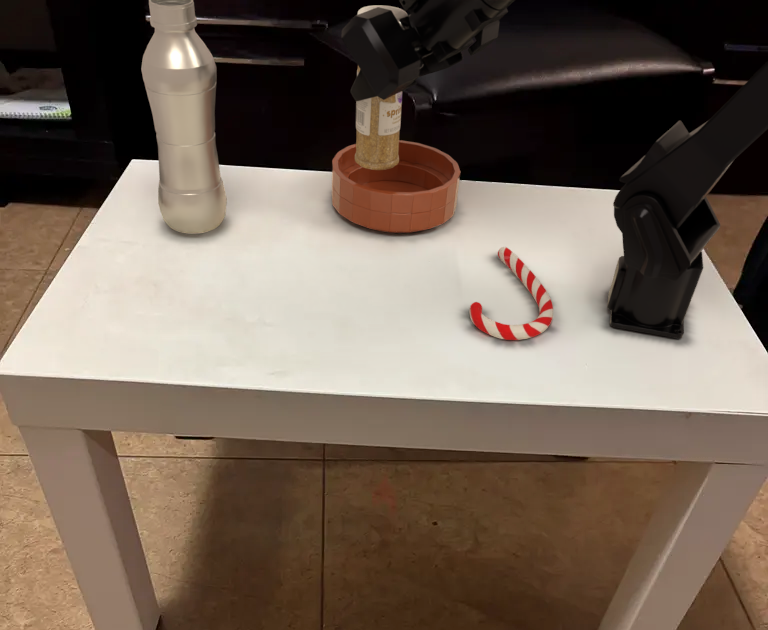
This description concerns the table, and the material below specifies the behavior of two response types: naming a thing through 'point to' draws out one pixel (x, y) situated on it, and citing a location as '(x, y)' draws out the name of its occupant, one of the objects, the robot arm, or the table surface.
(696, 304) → the table surface
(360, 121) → the sprinkles bottle
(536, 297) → the candy cane
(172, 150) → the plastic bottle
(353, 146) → the bowl
